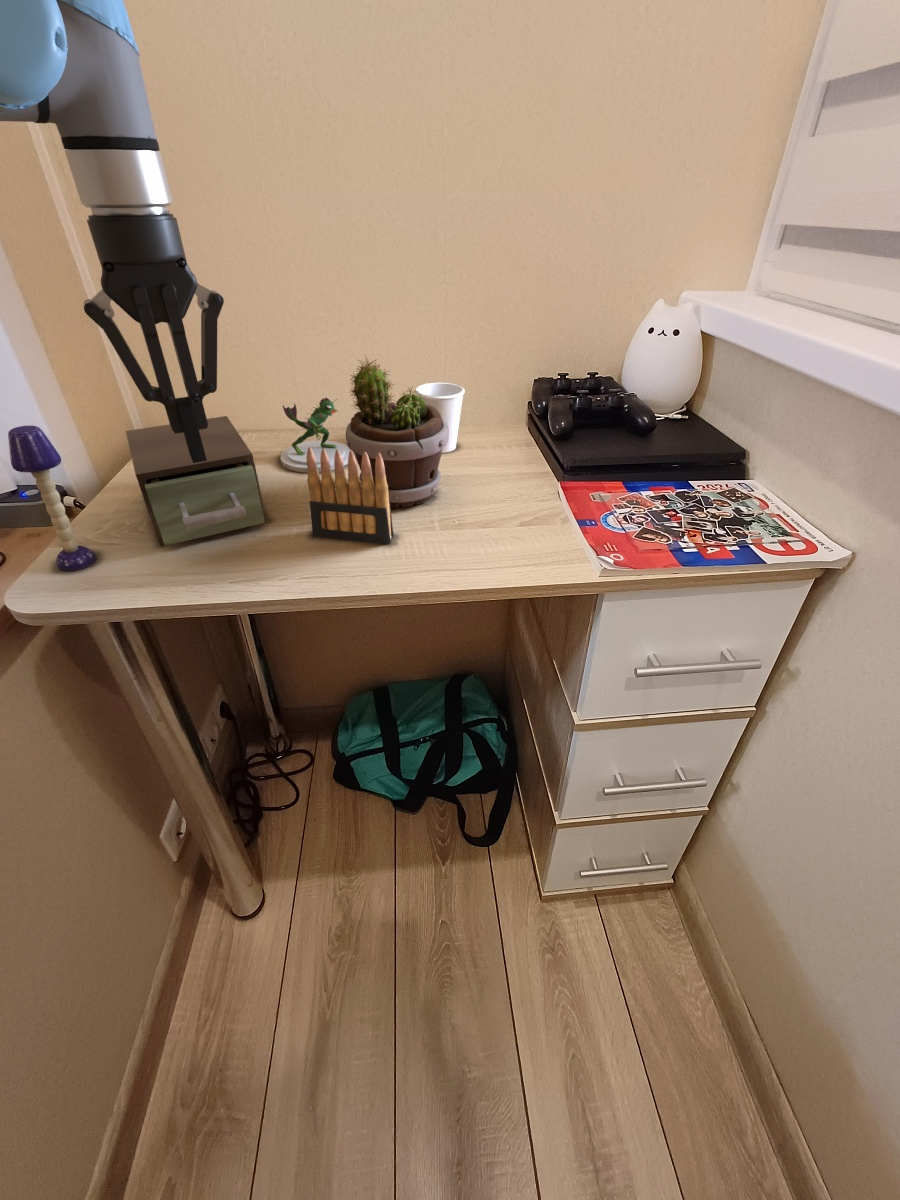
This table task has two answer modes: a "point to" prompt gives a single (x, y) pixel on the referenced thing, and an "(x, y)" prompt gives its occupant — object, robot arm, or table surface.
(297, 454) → the monster figurine
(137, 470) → the cabinet
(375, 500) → the ammunition clip
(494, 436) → the table surface
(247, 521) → the drawer
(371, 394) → the flowerpot
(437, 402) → the dixie cup
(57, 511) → the toy lamp
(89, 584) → the table surface
